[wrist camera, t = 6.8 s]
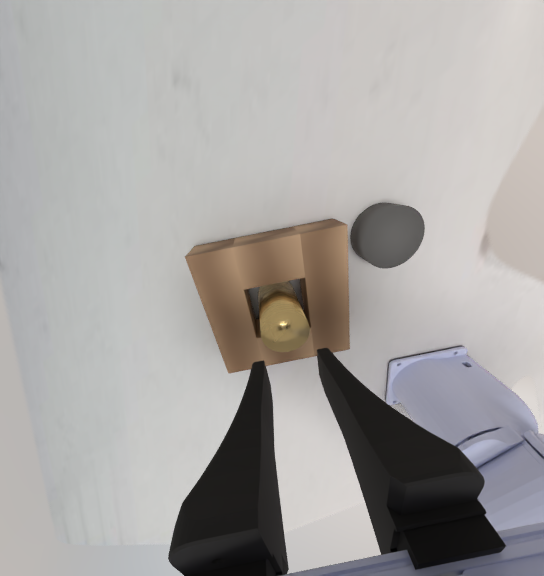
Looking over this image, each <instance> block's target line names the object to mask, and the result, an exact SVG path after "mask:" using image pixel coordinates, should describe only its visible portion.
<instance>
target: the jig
mask: <svg viewBox="0 0 544 576" xmlns="http://www.w3.org/2000/svg"><path fill="white" fill-rule="evenodd" d="M185 258H186V261H187V264H188V266H189V269H190V272H191V274H192V277H193V280H194V282H195V285H196V288H197V290H198V293H199V296H200V298H201V301H202V304H203V306H204V309H205V312H206V314H207V317H208V320H209V322H210V325H211V328H212V330H213V333H214V336H215V338H216V341H217V344H218V346H219V349H220V352H221V355H222V357H223V360H224V363H225V365H226V368H227V371H228V373H233V372H238V371H243V370H248V369H251V368H252V364H253V363H254V362H258V361H263V360H264V362H265V366H268V365H273V364H278V363H283V362H288V361H293V360H298V359H303V358H308V357H313V356H317V349H322V348H328V349H329V350H330V351H331V352H332V353H333V352H338V351H343V350H348V349H350V341H349V288H348V235H347V224H345V223H342V222H340V221H338V220H335V219H329V220H324V221H319V222H313V223H308V224H303V225H298V226H293V227H288V228H283V229H278V230H273V231H268V232H263V233H258V234H253V235H248V236H243V237H238V238H233V239H228V240H223V241H218V242H213V243H208V244H203V245H198V246H194V247H193V248H192V250H191V251H190V252H189V253H188V254H187V255H186V256H185ZM295 279H300V286H301V293H302V301H303V309H304V310H303V312H304V314H305V317H306V319H307V321H308V324H309V327H310V333H309V337H308V339H307V340H306V342H305V343H304V344H303V345H302V346H301V347H299V348H297V349H295V350H293V351H289V352H277V351H273V350H271V349H269V348H268V347H267V346H266V345H265V344H264V343H263V341H262V339H261V330H260V319H256V318H255V314H254V311H253V307H252V303H251V299H250V295H249V291H248V289H250V288H255V287H260V286H265V285H270V284H275V283H280V282H285V281H290V280H295Z"/></svg>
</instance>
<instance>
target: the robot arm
mask: <svg viewBox="0 0 544 576" xmlns="http://www.w3.org/2000/svg"><path fill="white" fill-rule="evenodd" d="M467 351H468V349H467V348H466V347H464V346H463V347H457V348H452V349H447V350H442V351H437V352H432V353H427V354H422V355H417V356H412V357H407V358H402V359H397V360H393V361H391V362H390V363H389V372H388V383H387V394H386V403H385V402H384V401H383V400H381V399H380V398H379V397H378V396H376V395H375V394H374V393H373V392H371V391H370V390H369V389H368V388H367V387H365V386H364V385H363V384H362V383H361V382H360V381H359V380H358V379H357V378H356V377H354V376H353V375H352V374H351V373H350V372H349V371H348V370H347V369H346V368H345V367H344V366H343V364H342V363H341V362H340V361H339V360H338V359H337V358H336V357H335V356H334V354H333V353H332V352H331V351H330V350H329V349H328V348H322V349H317V358H318V367H319V375H320V378H321V382H322V385H323V388H324V391H325V394H326V396H327V398H328V401H329V403H330V406H331V408H332V410H333V413H334V415H335V417H336V420H337V422H338V424H339V426H340V429H341V431H342V434H343V436H344V439H345V442H346V445H347V448H348V450H349V453H350V456H351V459H352V462H353V466H354V469H355V472H356V475H357V478H358V481H359V484H360V487H361V490H362V493H363V497H364V500H365V503H366V506H367V509H368V512H369V516H370V519H371V522H372V525H373V529H374V532H375V535H376V538H377V542H378V545H379V548H380V552H381V555H378V556H373V557H369V558H364V559H359V560H354V561H349V562H344V563H340V564H335V565H329V566H325V567H320V568H315V569H310V570H306V571H301V572H296V573H290V574H287V572H288V561H287V553H286V546H285V539H284V530H283V522H282V514H281V506H280V497H279V489H278V480H277V471H276V462H275V452H274V426H273V401H272V393H271V385H270V381H269V377H268V373H267V369H266V366H265V362H264V360H263V361H258V362H254V363H253V364H252V368H251V373H250V377H249V380H248V383H247V386H246V389H245V392H244V395H243V398H242V401H241V403H240V406H239V408H238V411H237V413H236V415H235V417H234V420H233V422H232V424H231V426H230V428H229V430H228V432H227V434H226V436H225V438H224V440H223V441H222V443H221V445H220V447H219V449H218V450H217V452H216V454H215V455H214V457H213V459H212V460H211V462H210V463H209V465H208V467H207V468H206V470H205V471H204V473H203V474H202V476H201V477H200V479H199V480H198V482H197V483H196V485H195V486H194V487H193V489H192V490H191V492H190V493H189V495H188V496H187V497H186V499H185V500H184V502H183V503H182V506H181V509H180V512H179V515H178V518H177V521H176V525H175V528H174V533H173V537H172V542H171V546H170V551H169V557H168V559H169V562H170V563H171V564H172V566H173V567H175V568H176V569H177V570H178V571H180V572H181V573H182V574H183V575H184V576H544V434H539V433H538V424H537V422H536V419H535V417H534V415H533V413H532V412H531V410H530V409H529V408H528V406H527V405H526V404H525V402H524V401H523V400H522V399H521V398H520V397H519V396H518V395H517V394H516V393H514V392H513V391H512V390H511V389H510V388H508V387H507V386H506V385H504V384H503V383H502V382H501V381H499V380H498V379H497V378H496V377H494V376H493V375H492V374H491V373H489V372H488V371H487V370H486V369H484V368H483V367H482V366H480V365H479V364H478V363H477V362H475V361H474V360H473V359H472V358H470V357H469V356H468V355H467ZM398 403H401V404H402V405H403V407H404V408H405V410H406V411H407V413H408V414H409V416H410V417H411V419H412V420H413V421H414V422H413V421H411V420H410V419H408V418H407V417H405V416H404V415H402V414H401V413H399V412H398V411H396V410H395V409H393V408H392V407H391V406H389V405H393V404H398Z"/></svg>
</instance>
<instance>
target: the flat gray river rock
mask: <svg viewBox="0 0 544 576" xmlns="http://www.w3.org/2000/svg"><path fill="white" fill-rule="evenodd" d="M424 229H425V228H424V221H423V218H422V216H421V215H420V213H419V212H418V211H417V210H416V209H414V208H412V207H409V206H404V205H398V204H391V203H378V204H375V205H372V206H370V207H369V208H367V209H366V210H364V211H363V212H362V213H361V214H360V215H359V216H358V218H357V219H356V221H355V222H354V224H353V227H352V230H351V237H350V239H351V245H352V248H353V250H354V251H355V252H356V254H358V255H359V256H360V257H362V258H363V259H365V260H366V261H368V262H369V263H371V264H372V265H374V266H376V267H379V268H392V267H396V266H398V265H400V264H402V263H404V262H405V261H407V260H408V259H409V258H411V257H412V256H413V255H414V253H415V252H416V251H417V249H418V248H419V246H420V244H421V242H422V240H423V236H424Z"/></svg>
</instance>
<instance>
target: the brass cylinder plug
mask: <svg viewBox="0 0 544 576" xmlns="http://www.w3.org/2000/svg"><path fill="white" fill-rule="evenodd" d="M258 304H259V317H260V330H261V339H262V341H263V343H264V344H265V345H266V346H267V347H268V348H269V349H271V350H273V351H277V352H289V351H293V350H295V349H297V348H299V347H301V346H302V345H303V344H304V343H305V342H306V340H307V339H308V337H309V333H310V327H309V324H308V321H307V319H306V317H305V314H304V312H303V310H302V307H301V305H300V303H299V300H298V298H297V296H296V293H295V291H294V288H293V286H292V285H291V284H290V283H289V282H288V281H285V282H280V283H275V284H270V285H265V286H261V287H260V289H259V291H258Z"/></svg>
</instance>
